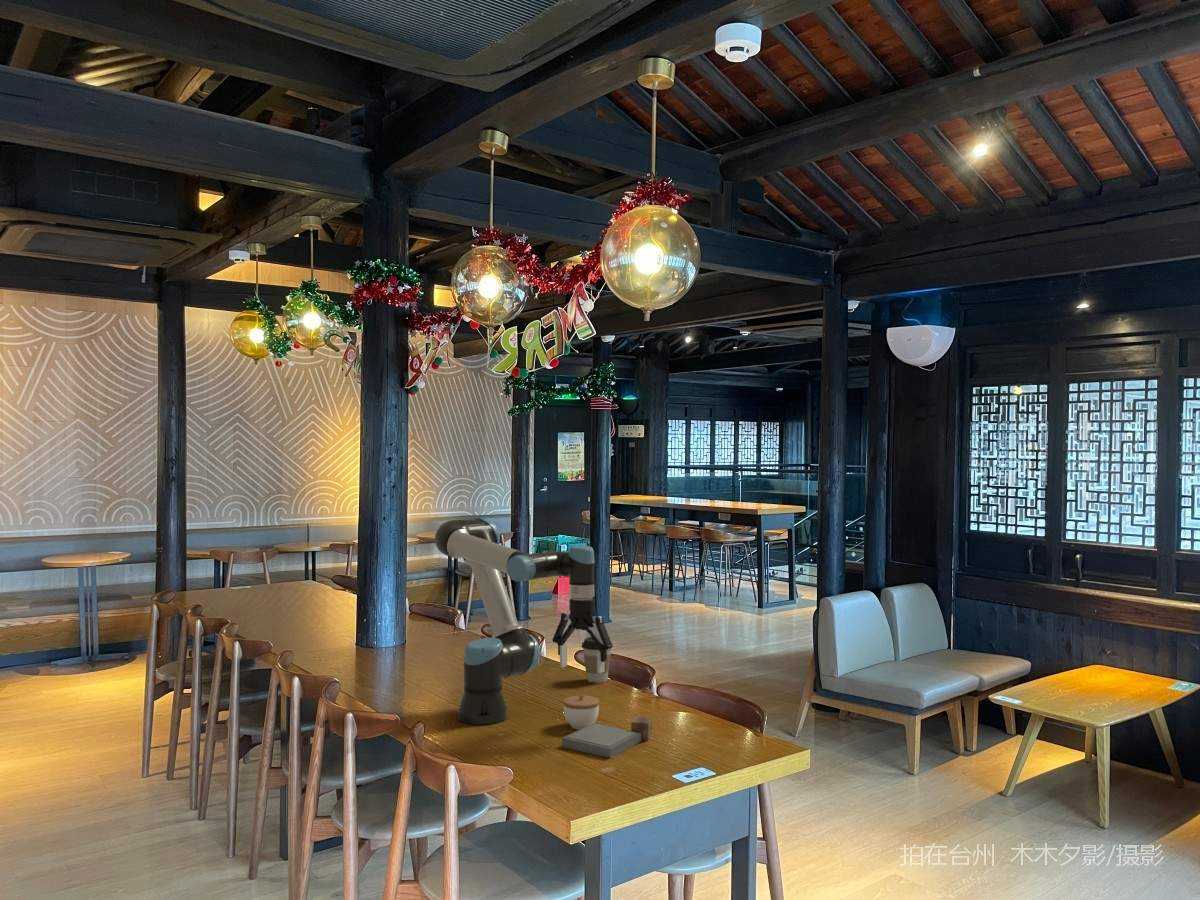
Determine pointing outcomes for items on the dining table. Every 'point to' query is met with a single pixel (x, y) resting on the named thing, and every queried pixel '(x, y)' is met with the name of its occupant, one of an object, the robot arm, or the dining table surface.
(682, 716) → the dining table surface
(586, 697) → the lidded jar
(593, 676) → the coffee cup
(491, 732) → the dining table surface
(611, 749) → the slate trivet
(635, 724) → the walnut block
